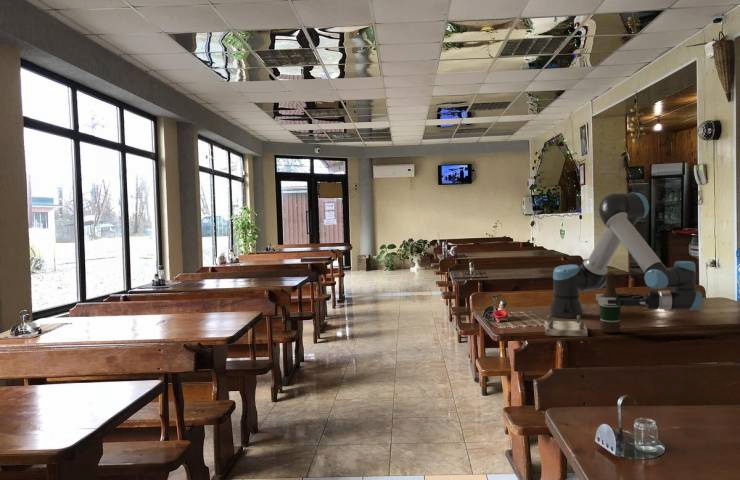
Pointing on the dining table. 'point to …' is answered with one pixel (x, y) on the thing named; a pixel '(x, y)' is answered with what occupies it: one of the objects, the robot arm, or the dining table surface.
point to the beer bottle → (610, 307)
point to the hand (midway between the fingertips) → (597, 299)
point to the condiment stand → (565, 327)
